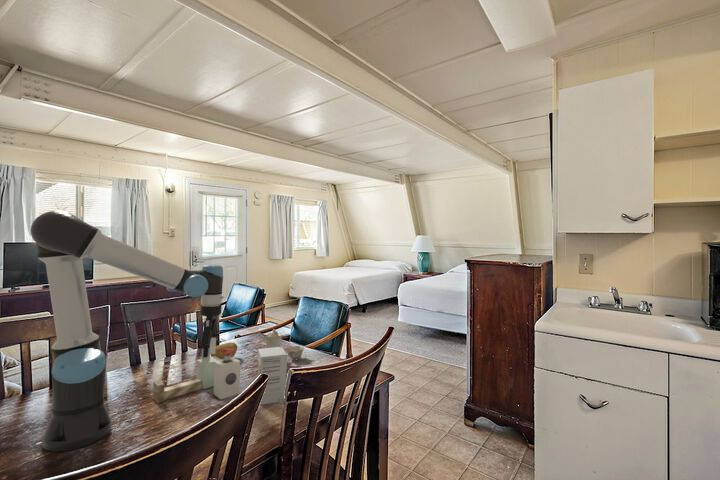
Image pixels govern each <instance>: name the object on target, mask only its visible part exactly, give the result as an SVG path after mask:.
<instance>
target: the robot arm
mask: <svg viewBox="0 0 720 480" xmlns="http://www.w3.org/2000/svg"><path fill="white" fill-rule="evenodd" d="M30 235H31V238H32V239H33V241H34V242H35V247H36V256H37V259H38V260H40V261H41V262H43V263H44V264H45V267H46V275H47V281H48V288H49V294H50V301H51V308H52V314H53V322H54V328H55V333H56V334H55V335H56V341H55V342H54V343H53V344H52V345H51V352H52V359H53V364H52V368H51V375H52V377H51V381H52V383H51V387H52V388H51V416H50V418H49V421H48V423H47V426H46V428H45V431H44V433H43V436H42V448H43V450H45V451H48V452H53V453H57V452H67V451H73V450H76V449H77V450H78V449H80V448H83V447H85V446H88V445H91V444H94V443H95V442H97V441H99V440H101V439H103V438H104V437H105V436H107V435H108V434H109V433H110V431H111V429H112V418H111V416H110V414H109V411H108V408H107V406H106V403H105V389H106V388H105V384H106V381H105V380H106V365H107V358H106V354H105V352H104V351H102V348H101V341H100V335H99V334H97V333H94V332H93V328H92V319H91V314H90V313H91V312H90V306H89V298H88V291H87V285H86V279H85V272H84V263H83V259H85V258H89V259H91V260H95V261H97V262H99V263H102V264H105V265H107V266H109V267H110V266H111V267H113V268H115V269H118V270H121V271H123V272H126V273H128V274H132V275H134V276H137V277H139V278H142V279H145V280H147V281H151V282H153V283H155V284H158V285H160V286H164V287H166V290H167V291H168V292H174V293H177V292H179V293H182V294H184V295H186V296H188V297H191V298H199V297H200V304H201V305H200V316H202V317H205V320H204V321H203V330H202V337H201V338H202V339H201V345H200V346H199V349H201V359H202V363H201V366H209V365H210V357H211V355H210V354H215V353H216V346H217V338H219V333H218V322H217V321H218V320H217V319H218V316H221V314H222V310H223V309H222V302H223V300H222V299H224V297H225V296H223V287H224V286H223V283H224V267H223V266H222V265H219V264H205V265H203V266H202V269H200V270H188V269H186V268H184V267H181V266H178V265H177V264H174V263H171V262H169V261H167V260H164V259H162V258H160V257H157V256H155V255H153V254H151V253H148V252H146V251H144V250H141V249H139V248H137V247H134V246H132V245H129V244H127V243H125V242H122V241H119V240H118V239H114V238H113V237H110V236H108V235H105V234H103V233H102V231H101V229H100V228H98V227H95V226H93V225H92V224H89V223H87V222H86V221H84V220H82V219H80V218H79V217H77V216H76V215H75V214H72V213H71V212H68V211H65V210H64V211H63V210H51V211H46V212H43V213H41V214H40V215H38V216H37V217H36V218H35V219H34V220H33V222H32V223H31V226H30Z"/></svg>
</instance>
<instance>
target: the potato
mask: <svg viewBox="0 0 720 480" xmlns="http://www.w3.org/2000/svg"><path fill="white" fill-rule="evenodd" d="M225 348H233V349H234V353H233V354H231V357H233V358H234V357H235V355H236V354H237V351H238V345H237V343H236V342H232V341H230V342H229V341H228V342H225V343H222V344H219V345H216V353H215V354H210V357H212V356H216V357H218V358H220V359H224V355H222V354H221V350H222V349H225Z"/></svg>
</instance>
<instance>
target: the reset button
mask: <svg viewBox="0 0 720 480" xmlns="http://www.w3.org/2000/svg"><path fill="white" fill-rule="evenodd" d="M233 353H234V349H233V348H225V349H222V350H221V354H222V355H224V363H229V362H231V354H233Z"/></svg>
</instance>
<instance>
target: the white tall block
mask: <svg viewBox="0 0 720 480" xmlns="http://www.w3.org/2000/svg"><path fill="white" fill-rule="evenodd" d="M240 378H241V360H239V359H238V358H235V357H234V356H233V357H231V362H229V363H224V359H222V360H218V361H214V386H213V395H214V396H215V397H216V398H218V399H219V400H223V399H227V398H230V397H233V396H236V395H238V394H240V390H241V389H240V386H241V384H240V383H241V379H240Z"/></svg>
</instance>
